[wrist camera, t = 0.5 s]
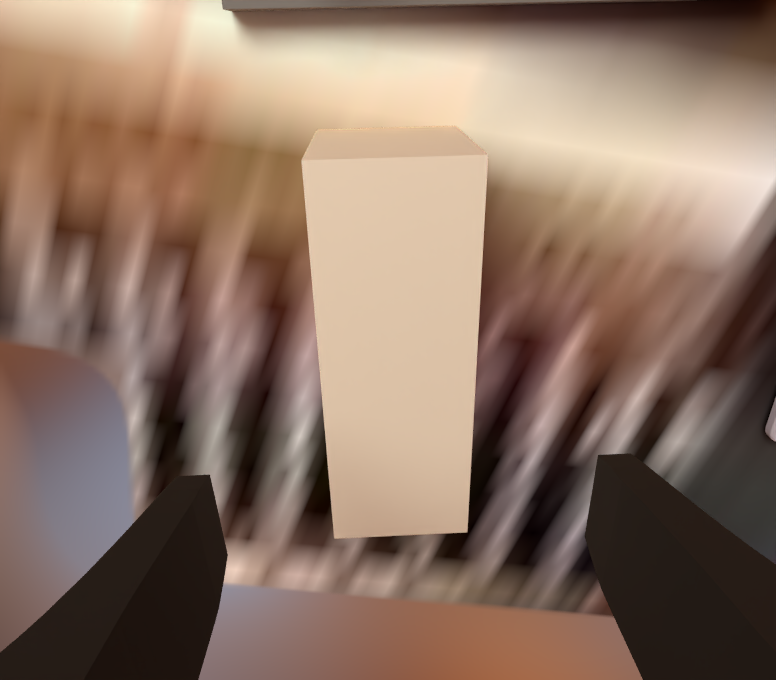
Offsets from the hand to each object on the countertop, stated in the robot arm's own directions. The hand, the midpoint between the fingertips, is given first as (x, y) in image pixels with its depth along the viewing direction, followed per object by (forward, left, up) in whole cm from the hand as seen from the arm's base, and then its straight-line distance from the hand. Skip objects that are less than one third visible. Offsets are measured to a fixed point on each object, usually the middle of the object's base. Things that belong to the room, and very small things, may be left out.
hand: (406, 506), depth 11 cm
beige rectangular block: (0, 0, -10) cm, 10 cm away
